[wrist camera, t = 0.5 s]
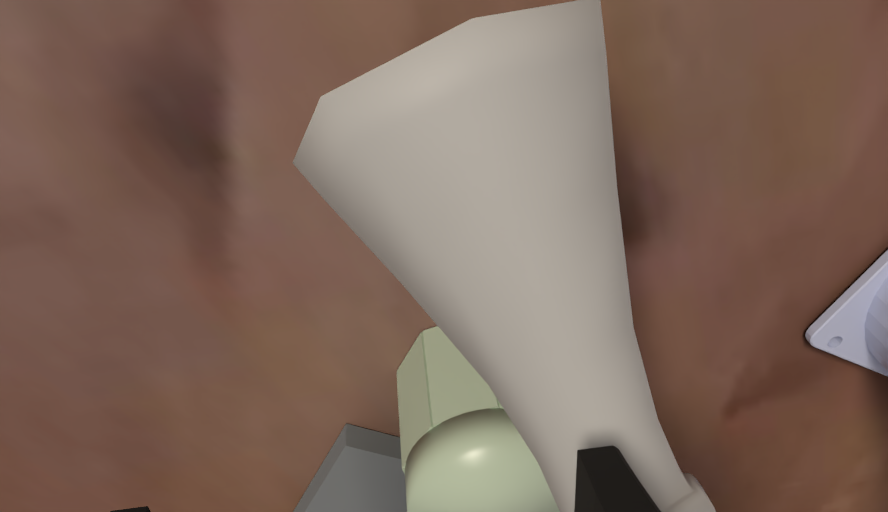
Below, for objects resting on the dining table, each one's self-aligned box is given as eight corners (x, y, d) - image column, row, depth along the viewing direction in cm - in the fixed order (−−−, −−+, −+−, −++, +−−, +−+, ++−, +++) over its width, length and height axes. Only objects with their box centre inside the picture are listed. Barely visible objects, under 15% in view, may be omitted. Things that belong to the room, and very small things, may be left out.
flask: (655, -64, 11) (932, 490, 10) (551, 102, 18) (706, 438, 17) (254, 76, 10) (510, 711, 9) (307, 194, 17) (455, 560, 16)
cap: (568, 341, 23) (619, 475, 18) (497, 433, 25) (526, 572, 20) (439, 296, 21) (459, 432, 16) (375, 399, 23) (378, 543, 19)
